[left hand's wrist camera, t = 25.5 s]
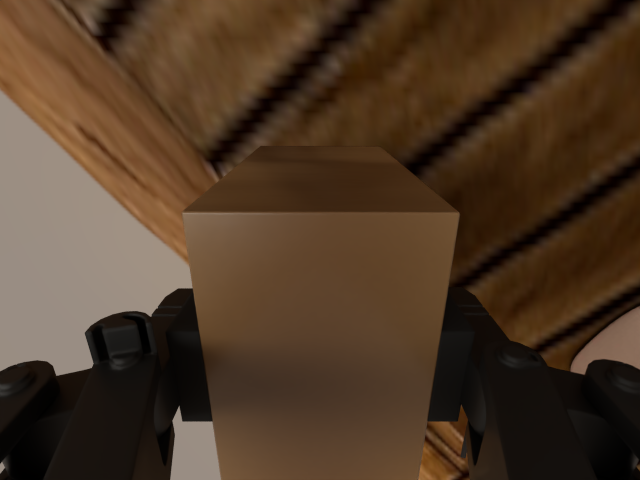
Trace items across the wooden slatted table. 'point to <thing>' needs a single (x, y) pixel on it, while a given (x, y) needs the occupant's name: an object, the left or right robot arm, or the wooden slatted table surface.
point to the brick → (320, 312)
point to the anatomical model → (613, 343)
